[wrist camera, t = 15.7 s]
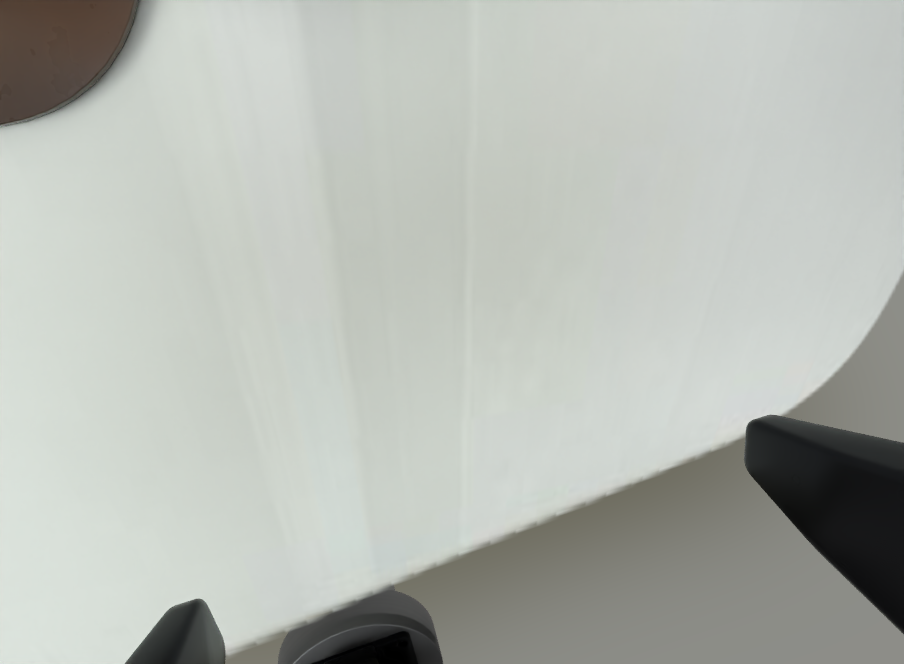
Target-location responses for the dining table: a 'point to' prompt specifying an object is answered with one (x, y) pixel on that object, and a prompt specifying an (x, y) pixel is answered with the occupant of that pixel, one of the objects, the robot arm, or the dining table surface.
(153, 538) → the dining table surface
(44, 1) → the coaster
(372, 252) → the dining table surface
